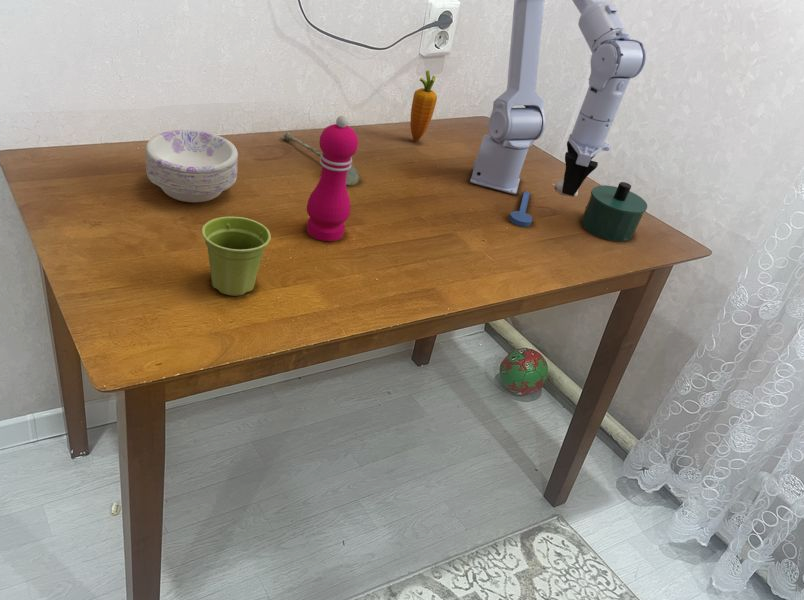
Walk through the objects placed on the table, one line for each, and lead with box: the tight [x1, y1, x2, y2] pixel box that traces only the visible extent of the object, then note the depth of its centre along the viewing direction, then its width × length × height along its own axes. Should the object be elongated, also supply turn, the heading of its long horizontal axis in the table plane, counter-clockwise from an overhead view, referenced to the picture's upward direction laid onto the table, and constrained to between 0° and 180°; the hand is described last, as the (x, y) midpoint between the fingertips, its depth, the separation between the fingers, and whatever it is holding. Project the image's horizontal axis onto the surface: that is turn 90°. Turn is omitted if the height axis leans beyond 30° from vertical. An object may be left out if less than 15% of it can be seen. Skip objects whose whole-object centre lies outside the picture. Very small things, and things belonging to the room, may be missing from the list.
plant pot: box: [201, 215, 272, 297], centre depth 101 cm, size 9×9×9 cm
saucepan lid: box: [590, 181, 648, 214], centre depth 133 cm, size 10×10×4 cm
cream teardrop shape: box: [554, 178, 579, 198], centre depth 128 cm, size 4×5×2 cm
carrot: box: [409, 70, 438, 143], centre depth 152 cm, size 5×5×15 cm
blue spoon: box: [508, 190, 533, 227], centre depth 138 cm, size 4×15×1 cm, turn 163°
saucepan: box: [581, 194, 644, 242], centre depth 135 cm, size 10×10×6 cm
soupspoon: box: [282, 131, 361, 186], centre depth 140 cm, size 22×3×7 cm
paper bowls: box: [145, 129, 239, 203], centre depth 122 cm, size 15×15×8 cm
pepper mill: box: [306, 115, 359, 242], centre depth 114 cm, size 7×7×20 cm
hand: (568, 188), depth 128 cm, fingers closed on cream teardrop shape, 4 cm apart
